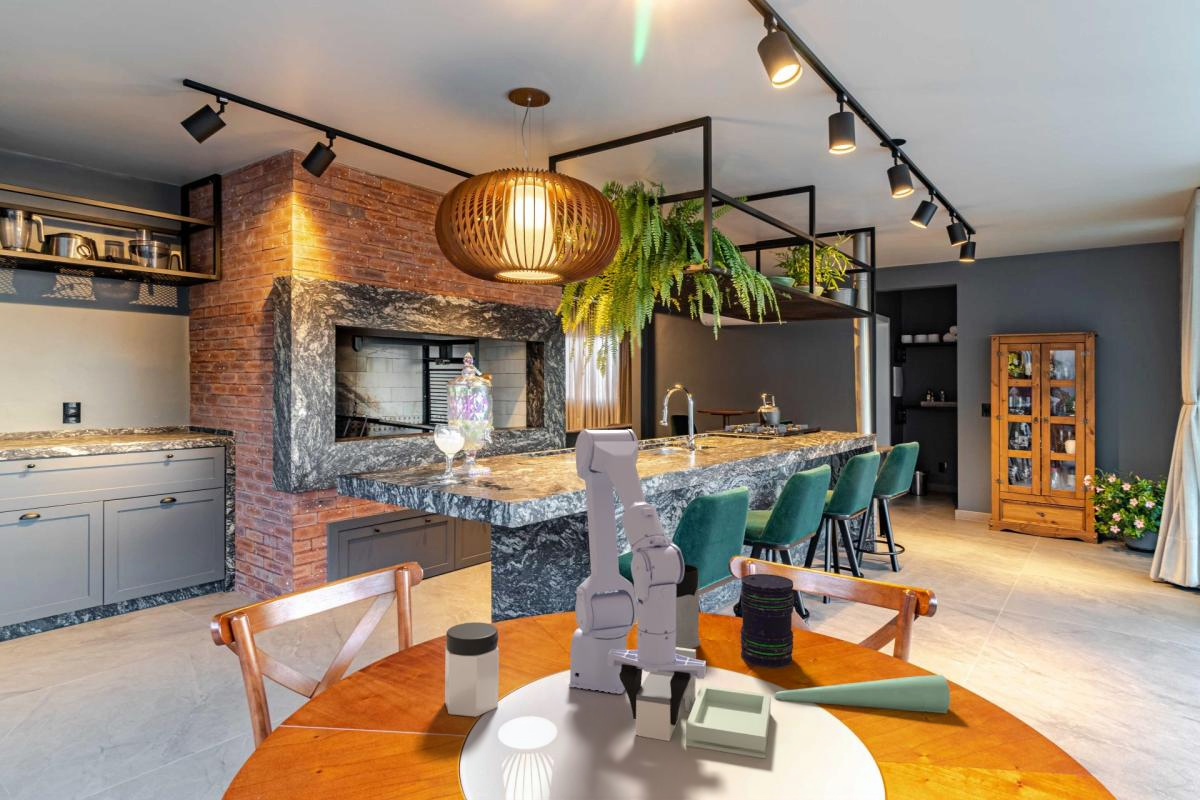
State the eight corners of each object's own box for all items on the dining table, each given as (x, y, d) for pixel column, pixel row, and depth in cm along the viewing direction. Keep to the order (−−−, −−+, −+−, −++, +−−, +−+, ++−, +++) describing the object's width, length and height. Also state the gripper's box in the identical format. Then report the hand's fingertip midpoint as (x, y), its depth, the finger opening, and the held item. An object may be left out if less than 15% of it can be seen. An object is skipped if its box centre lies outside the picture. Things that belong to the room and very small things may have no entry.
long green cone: (772, 660, 114) (937, 669, 111) (772, 692, 114) (937, 702, 111) (777, 673, 109) (950, 683, 106) (776, 707, 109) (950, 718, 106)
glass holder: (707, 647, 134) (707, 572, 134) (638, 652, 131) (639, 575, 131) (691, 632, 142) (692, 562, 142) (627, 636, 139) (628, 564, 139)
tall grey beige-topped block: (635, 735, 98) (636, 694, 98) (648, 711, 106) (648, 673, 106) (669, 741, 97) (669, 699, 97) (679, 716, 104) (679, 677, 104)
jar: (502, 713, 105) (503, 636, 105) (449, 721, 102) (450, 642, 102) (491, 690, 113) (492, 619, 113) (442, 696, 110) (443, 624, 110)
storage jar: (799, 655, 130) (800, 578, 130) (785, 672, 122) (786, 590, 122) (749, 645, 136) (750, 571, 136) (732, 661, 127) (733, 582, 127)
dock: (643, 704, 108) (643, 655, 108) (650, 691, 113) (651, 644, 113) (689, 711, 106) (690, 661, 106) (695, 697, 111) (695, 649, 111)
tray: (685, 745, 96) (686, 724, 96) (700, 703, 109) (701, 685, 109) (764, 758, 92) (765, 736, 92) (770, 713, 106) (770, 694, 106)
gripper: (602, 630, 98) (600, 723, 98) (701, 642, 93) (700, 739, 93) (615, 616, 104) (614, 703, 104) (708, 626, 100) (707, 717, 100)
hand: (655, 719), depth 99 cm, fingers closed on tall grey beige-topped block, 5 cm apart
